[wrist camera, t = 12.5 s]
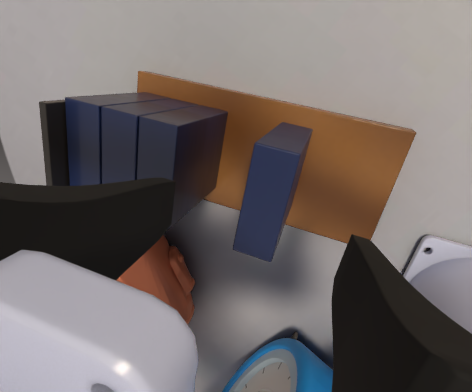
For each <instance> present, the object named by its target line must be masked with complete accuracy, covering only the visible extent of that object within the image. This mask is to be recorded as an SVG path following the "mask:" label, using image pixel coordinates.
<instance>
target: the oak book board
mask: <svg viewBox="0 0 472 392" xmlns="http://www.w3.org/2000/svg"><path fill="white" fill-rule="evenodd" d="M39 107H40V118H41V129H42V140H43V151H44V162H45V173H46V184H47V186H82V185H96V184H105V183H115V182H123V181H130V180H138V179H146V178H166V179H169V180H172V181H176V184H175V194H174V204H173V214H172V224H171V225H170V227H169V228H168V229H170V228H171V227H172V226H173V225H174V224H175V223H176V222H177V221H179V220H180V219H181V218H182V217H183V216H184V215H185V214H186V213H188V212H189V211H190V210H191V209H192V208H193V207H194V206H196V205H197V204H198V203H199V202H200V201H201V200H202V199H204V200H207V201H211V202H214V203H217V204H220V205H224V206H227V207H230V208H233V209H237V210H240V211H241V206H242V201H243V196H244V192H245V187H246V182H247V177H248V172H249V167H250V162H251V158H252V153H253V148H254V144H255V142H257V141H258V140H259V139H261V138H262V137H263V136H264V135H266V134H267V133H268V132H270V131H271V130H272V129H274V128H275V127H276V126H277V125H279V124H280V123H281V122H285V123H289V124H293V125H298V126H302V127H306V128H310V129H313V132H312V135H311V139H310V142H309V146H308V149H307V153H306V156H305V160H304V164H303V167H302V171H301V174H300V178H299V181H298V185H297V188H296V192H295V195H294V199H293V202H292V206H291V209H290V212H289V215H288V217H287V220H286V223H285V224H286V225H289V226H292V227H296V228H299V229H302V230H305V231H309V232H312V233H315V234H318V235H322V236H325V237H328V238H331V239H335V240H338V241H341V242H345V243H348V242H349V239H350V237H351V234H353V235H357V236H360V237H363V238H367V239H369V240H371V238H372V236H373V233H374V231H375V228H376V226H377V224H378V221H379V219H380V217H381V214H382V212H383V210H384V207H385V205H386V203H387V200H388V198H389V196H390V193H391V191H392V189H393V186H394V184H395V182H396V179H397V177H398V175H399V172H400V170H401V168H402V165H403V163H404V161H405V158H406V156H407V154H408V151H409V149H410V147H411V144H412V142H413V140H414V137H415V135H416V132H415V131H414V130H412V129H408V128H403V127H399V126H394V125H390V124H385V123H381V122H376V121H371V120H367V119H362V118H358V117H353V116H348V115H344V114H339V113H335V112H330V111H325V110H321V109H316V108H312V107H307V106H303V105H298V104H293V103H289V102H284V101H280V100H275V99H270V98H266V97H261V96H257V95H252V94H247V93H243V92H238V91H234V90H229V89H224V88H220V87H215V86H211V85H206V84H202V83H197V82H192V81H188V80H183V79H179V78H174V77H169V76H165V75H160V74H156V73H151V72H146V71H138V87H137V93H125V94H109V95H93V96H78V97H66V98H65V100H55V101H41V102H39ZM168 229H167V230H168Z"/></svg>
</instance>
